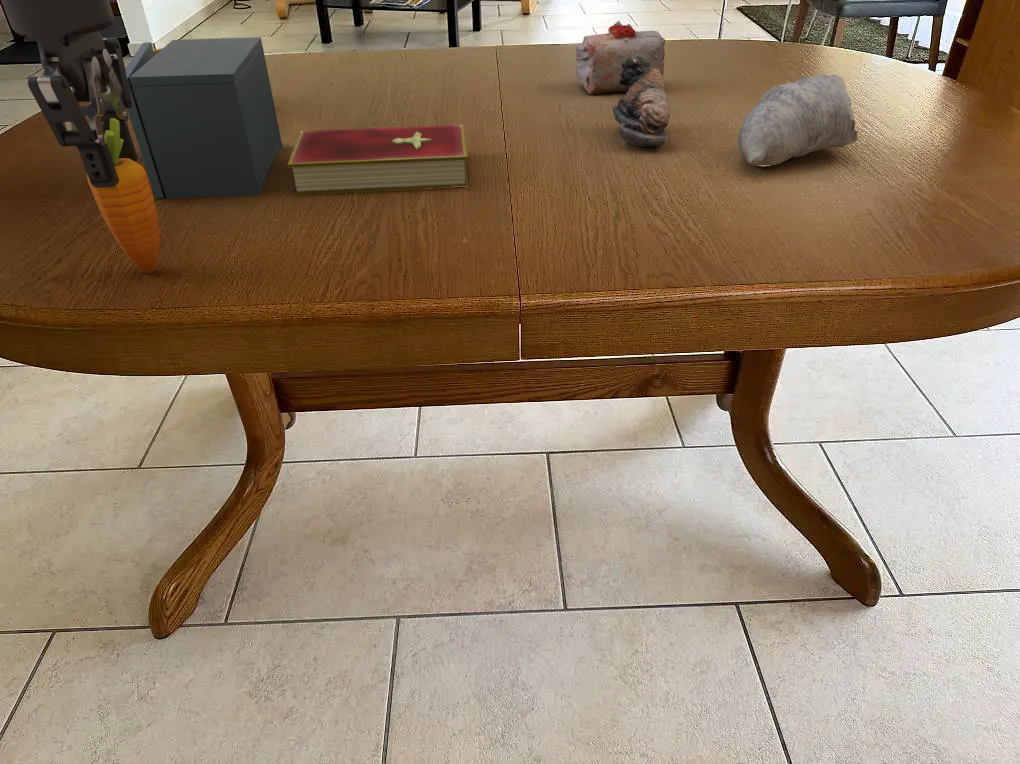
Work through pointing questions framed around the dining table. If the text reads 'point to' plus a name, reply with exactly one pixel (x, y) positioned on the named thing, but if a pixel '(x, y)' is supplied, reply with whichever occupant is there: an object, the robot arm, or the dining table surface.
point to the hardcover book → (379, 159)
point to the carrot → (129, 206)
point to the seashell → (798, 121)
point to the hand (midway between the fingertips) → (116, 173)
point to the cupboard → (209, 116)
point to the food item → (615, 56)
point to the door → (137, 123)
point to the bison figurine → (642, 103)
